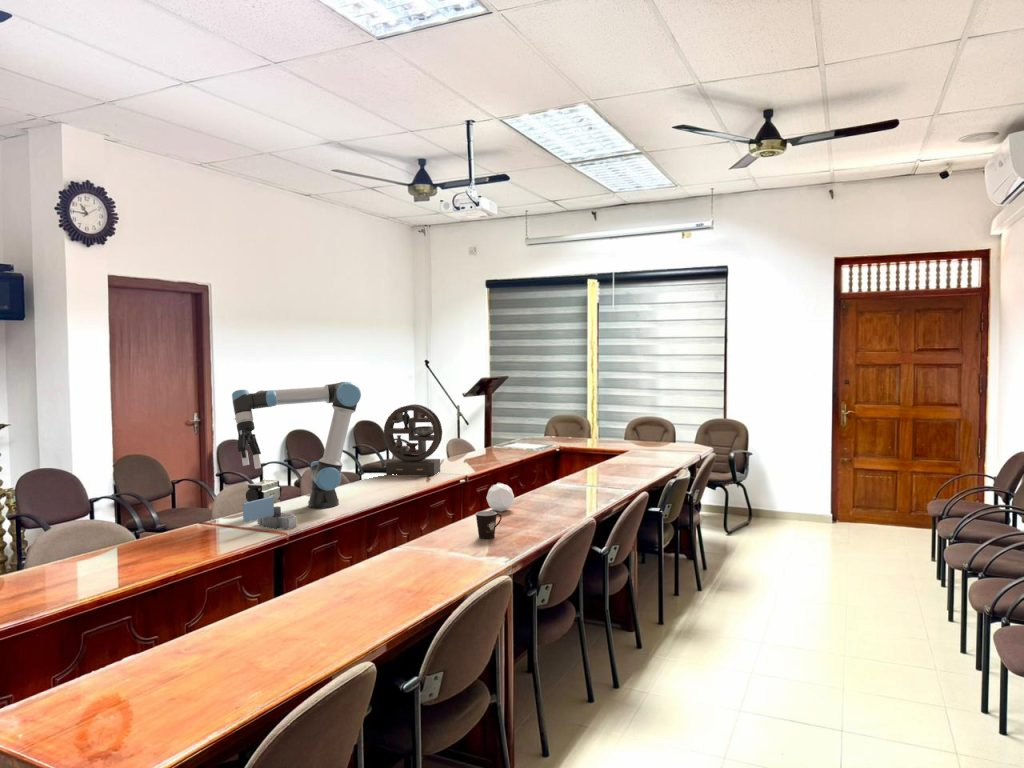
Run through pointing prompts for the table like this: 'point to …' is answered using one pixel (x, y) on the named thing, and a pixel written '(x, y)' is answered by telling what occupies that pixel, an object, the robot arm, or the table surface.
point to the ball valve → (264, 490)
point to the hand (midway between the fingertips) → (252, 466)
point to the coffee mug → (487, 524)
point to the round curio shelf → (406, 460)
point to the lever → (259, 509)
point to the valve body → (279, 521)
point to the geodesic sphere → (500, 497)
